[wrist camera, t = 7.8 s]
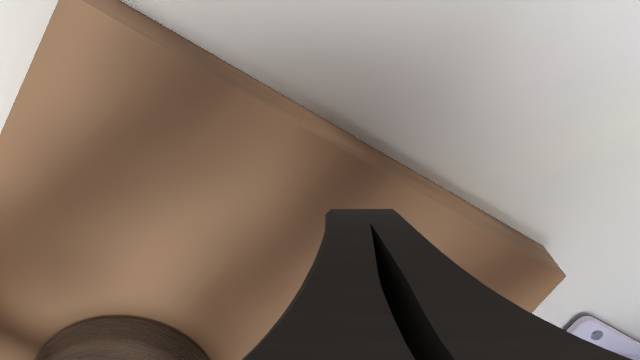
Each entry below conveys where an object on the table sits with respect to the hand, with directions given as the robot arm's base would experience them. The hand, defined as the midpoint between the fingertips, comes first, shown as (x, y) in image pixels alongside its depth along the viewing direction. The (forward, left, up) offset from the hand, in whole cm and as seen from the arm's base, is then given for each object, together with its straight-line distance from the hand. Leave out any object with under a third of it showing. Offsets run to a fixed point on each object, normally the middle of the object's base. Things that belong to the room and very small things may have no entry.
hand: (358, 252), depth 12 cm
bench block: (-1, +10, -9) cm, 14 cm away
